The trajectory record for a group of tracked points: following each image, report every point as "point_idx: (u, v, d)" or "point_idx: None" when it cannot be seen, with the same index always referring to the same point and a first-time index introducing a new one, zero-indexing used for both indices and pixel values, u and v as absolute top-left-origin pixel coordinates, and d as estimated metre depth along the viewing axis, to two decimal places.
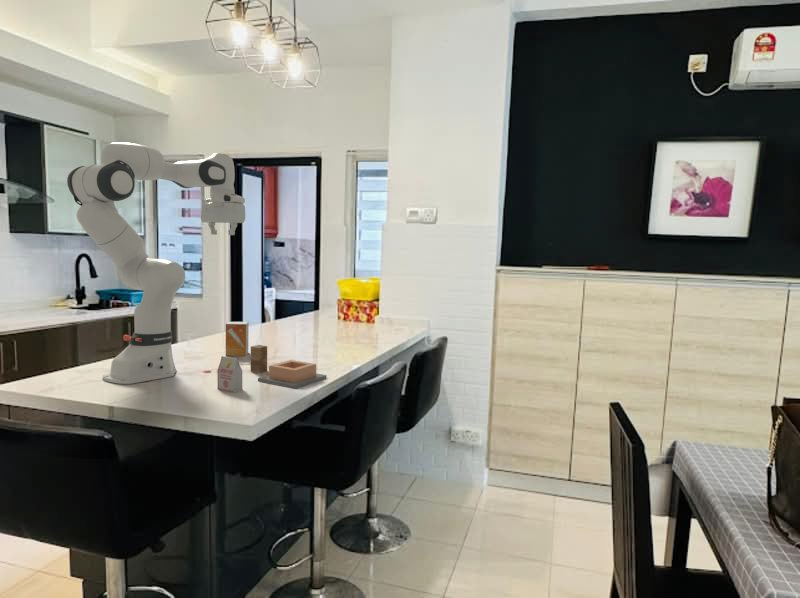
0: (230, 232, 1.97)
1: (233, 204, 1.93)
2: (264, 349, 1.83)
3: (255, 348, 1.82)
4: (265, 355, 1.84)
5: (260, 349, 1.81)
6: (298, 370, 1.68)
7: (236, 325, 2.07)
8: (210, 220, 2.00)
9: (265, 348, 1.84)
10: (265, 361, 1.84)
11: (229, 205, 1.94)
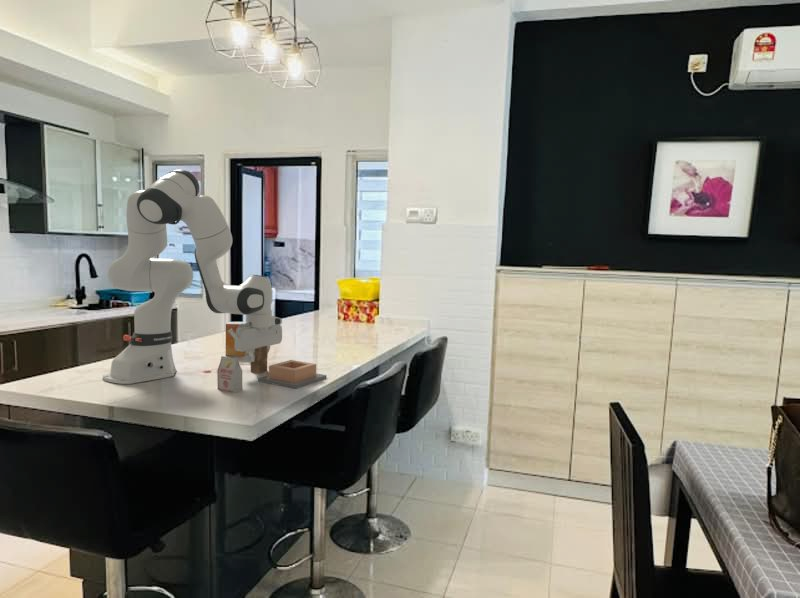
0: None
1: (280, 326, 1.89)
2: (264, 348, 1.83)
3: None
4: (265, 355, 1.84)
5: (260, 349, 1.81)
6: (298, 370, 1.68)
7: (236, 325, 2.07)
8: (253, 347, 1.79)
9: (265, 348, 1.84)
10: (265, 361, 1.84)
11: (276, 327, 1.87)
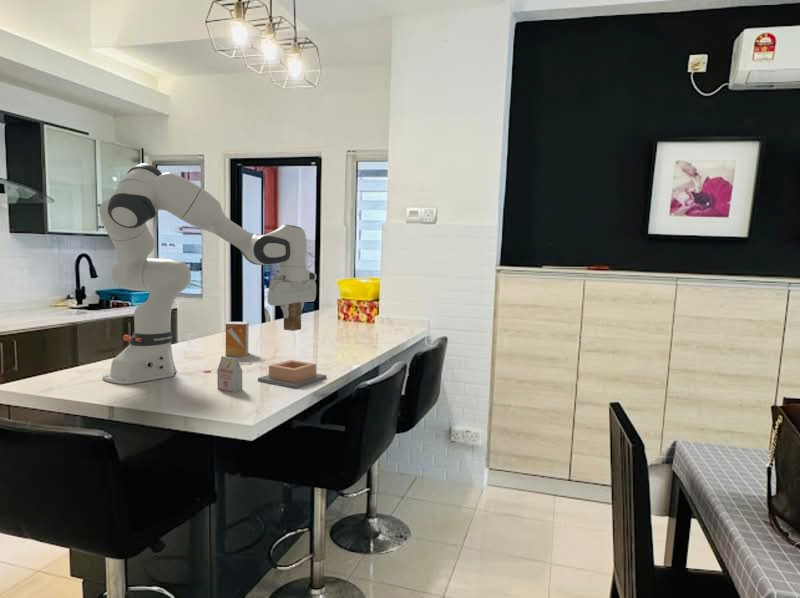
0: None
1: (314, 282, 1.77)
2: (298, 305, 1.71)
3: (289, 304, 1.70)
4: (299, 312, 1.72)
5: (294, 305, 1.70)
6: (298, 370, 1.68)
7: (236, 325, 2.07)
8: (287, 302, 1.67)
9: (299, 304, 1.72)
10: (299, 318, 1.72)
11: (310, 283, 1.75)
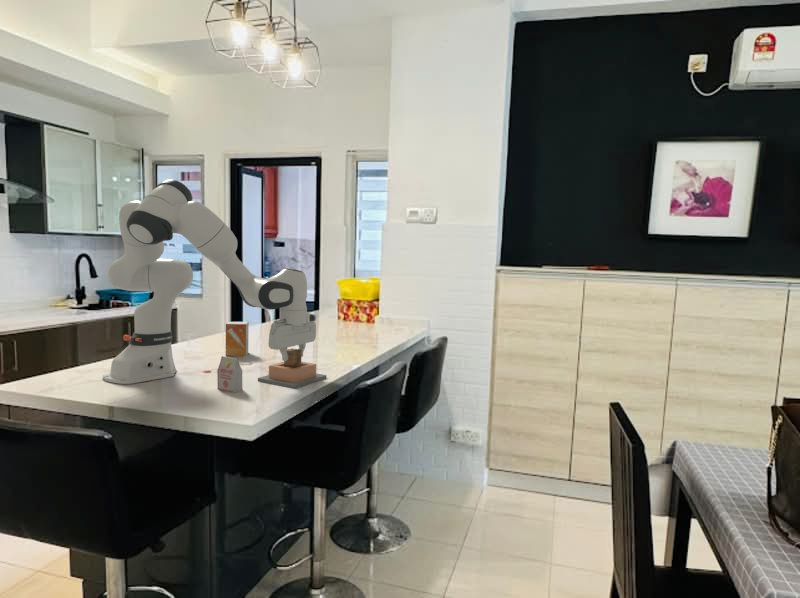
0: (302, 354, 1.77)
1: (314, 323, 1.79)
2: (298, 352, 1.73)
3: (289, 352, 1.72)
4: (299, 359, 1.74)
5: (294, 353, 1.72)
6: (298, 370, 1.68)
7: (236, 325, 2.07)
8: (288, 345, 1.69)
9: (299, 352, 1.74)
10: (299, 366, 1.74)
11: (310, 324, 1.77)
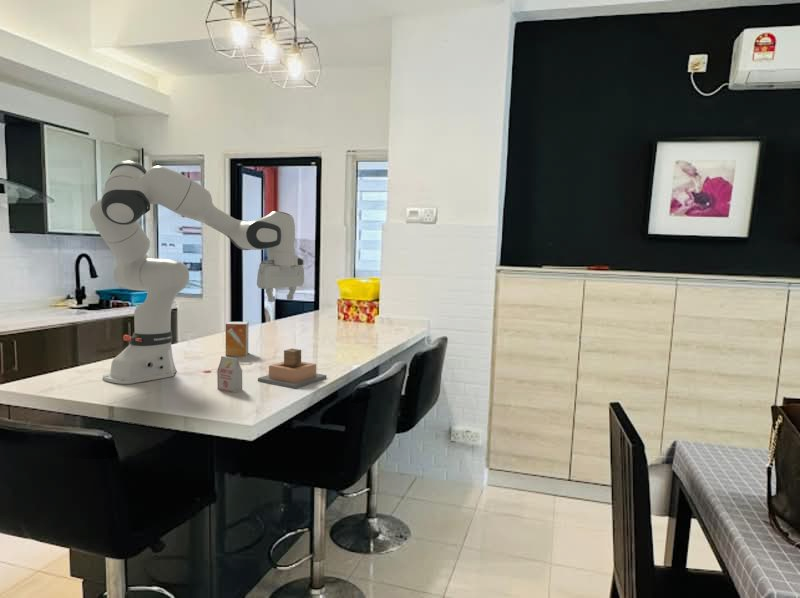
0: (292, 297, 1.82)
1: (302, 268, 1.84)
2: (298, 353, 1.73)
3: (289, 352, 1.72)
4: (299, 359, 1.74)
5: (294, 353, 1.72)
6: (298, 370, 1.68)
7: (236, 325, 2.07)
8: (276, 286, 1.73)
9: (299, 352, 1.74)
10: (299, 366, 1.74)
11: (298, 268, 1.82)
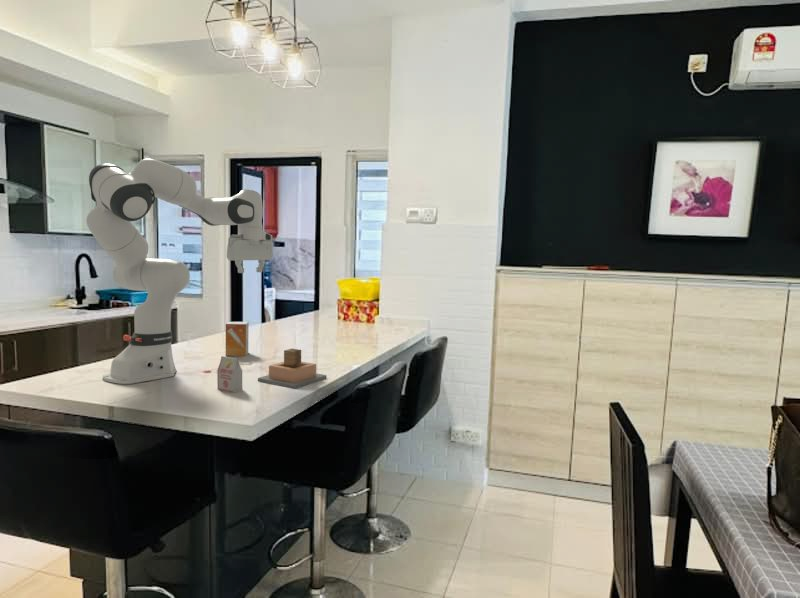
0: (261, 269, 1.98)
1: (270, 243, 1.99)
2: (298, 353, 1.73)
3: (289, 352, 1.72)
4: (299, 359, 1.74)
5: (294, 353, 1.72)
6: (298, 370, 1.68)
7: (236, 325, 2.07)
8: (244, 258, 1.88)
9: (299, 352, 1.74)
10: (299, 366, 1.74)
11: (267, 243, 1.97)
